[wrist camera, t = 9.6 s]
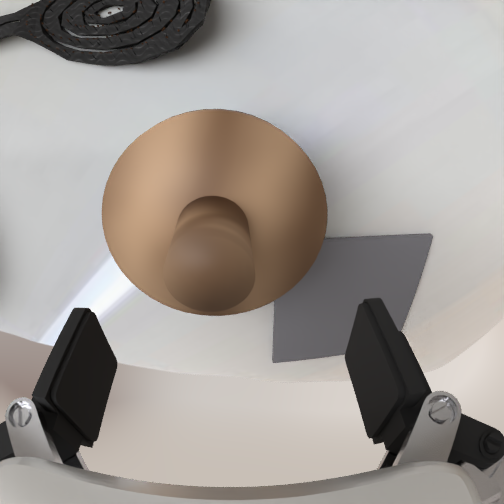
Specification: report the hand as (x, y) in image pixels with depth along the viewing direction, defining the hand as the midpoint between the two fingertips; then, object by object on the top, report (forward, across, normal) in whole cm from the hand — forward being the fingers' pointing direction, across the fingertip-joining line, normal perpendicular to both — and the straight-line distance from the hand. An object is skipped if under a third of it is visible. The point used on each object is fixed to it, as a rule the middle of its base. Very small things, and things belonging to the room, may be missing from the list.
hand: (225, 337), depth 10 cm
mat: (+14, -11, +12) cm, 22 cm away
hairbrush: (+14, +13, -16) cm, 25 cm away
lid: (+9, +1, 0) cm, 9 cm away
